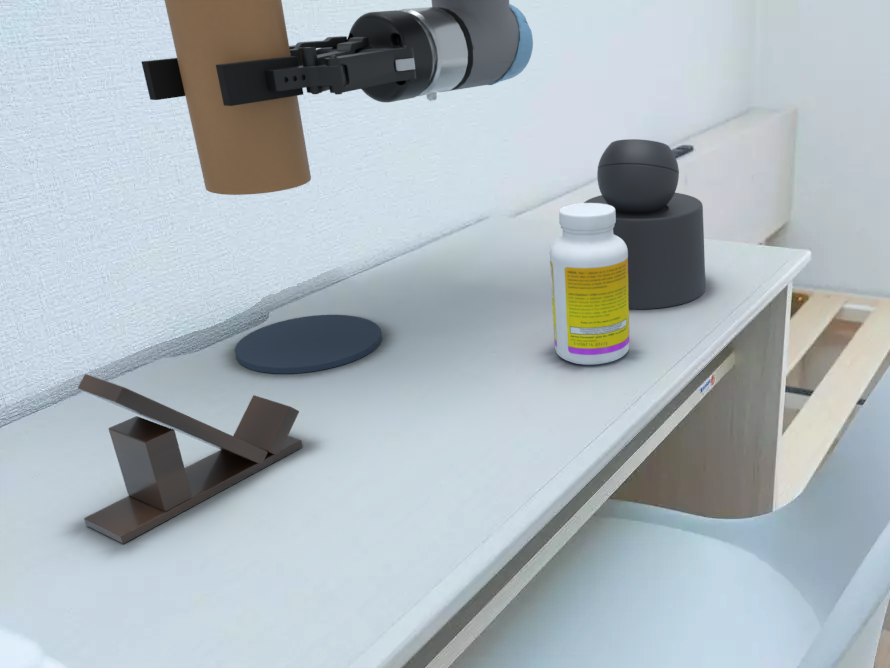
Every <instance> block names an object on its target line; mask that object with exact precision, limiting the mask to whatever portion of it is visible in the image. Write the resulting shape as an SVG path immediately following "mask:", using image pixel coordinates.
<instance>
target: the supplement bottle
mask: <svg viewBox="0 0 890 668" xmlns="http://www.w3.org/2000/svg"><path fill="white" fill-rule="evenodd" d="M558 212H559V214H558V224H559V225H560V229H561V230H562V235H561V236H559V237H558V238H556V239H555V240H554V241H553V243H552V244H551V246H550V248H549V266H550V267H549V268H550V285H551V301H552V303H551V304H552V320H553V322H552V323H553V337H554V338H553V339H554V340H553V341H554V349H555V352H556V354H557V355H558V356H559V357H560V358H561V359H563V360H565V361H566V362H569V363H572V364H576V365H577V364H578V365H585V366H586V365H587V366H592V365H593V366H595V365H603V364H608V363H613V362H616V361H617V360H619V359H621V358H623V357H625V355H627V353H628V351H629V349H630V309H629V294H628V249H627V246H626V244H625V242H624V241H623V240H622V239H621V238H620V237H618V236H616V235H614V234H613V227H614V226H615V225H614V224H615V222H616V212H615V208H614V207H613V206H611V205H607V204H601V203H584V202H580V203H572V204H567V205H565V206H562V207H561V208H560V209H559V211H558Z"/></svg>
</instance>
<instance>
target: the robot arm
mask: <svg viewBox="0 0 890 668" xmlns="http://www.w3.org/2000/svg"><path fill="white" fill-rule="evenodd" d="M533 48H534V39H533V32H532V29H531V27H530V26H529V23H528V21H527V18H526V16H525V15H524V14H523V12H522V11H521V10H520V9H519V8H518V7H516V6H515V5H513V4H511V3H510V0H431V6H429V7H427V6H426V7H411V8H402V9H399V10H398V9H397V10H383V11H382V10H381V11H370V12H367V13H364V14H362V15H360V16H359V17H358V18H357V19H356V20H355V21H354V22H353V24H352V26H351V27H350V29H349V33H348V36H347V35H339V36H328V37H326V38H324V39H323V40H313V41H312V40H311V41H298V42H297V43H296V44H294V45H293V44H292V45H289V49H290V55H291V56H288V57H279V58H271V59H262V60H253V61H244V62H236V63H227V64H218V65H216V69H217V74H218V79H219V84H220V89H221V94H222V99H223V104H224V106H234V105H241V104H247V103H253V102H260V101H266V100H272V99H279V98H285V97H291V96H297V97H298V96H302V95H303V96H304V88H305V89H306V93H307V94H312V95H320V94H322V93H323V92H326V91H329V93H330V94H334V95H343V93H348V92H351V91H357V90H361V91H362V92H363V93H364V94H365V95H366V96H368V97H369V98H370V99H372V100H374V101H376V102H378V103H379V102H380V103H394V102H399V101H403V100H409V99H415V98H417V97H422V96H426V99H427V100H428V101H430V102H431V101H436V100H437V98H438V95H437V93H445V92H446V93H447V92H452V91H458V90H463V89H464V90H465V89H471V88H476V87H482V86H493V85H496V84H498V83H501V82H503V81H507V80H510V79H513V78H515V77H516V76H518V75H519V74H521V73H522V72H523V71H524V70H525V69H526V67H527V66H528V65H529V63H530V60H531V57H532V55H533V54H532V53H533ZM141 66H142V70H143V71H142V72H143V74H144V79H145V84H146V88H147V93H148V96H149V100H151V101H160V100H161V101H162V100H167V99H174V98H181V97H186V96H185V92H184V87H183V83H182V78H181V73H180V69H179V64H178V60H177V57H171V58H162V59H161V58H160V59H151V60H142V61H141Z"/></svg>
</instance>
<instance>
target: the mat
mask: <svg viewBox="0 0 890 668" xmlns="http://www.w3.org/2000/svg"><path fill="white" fill-rule="evenodd" d="M382 338H383V335H382V330H381V327H380V326H379V325H378V324H377V323H376V322H374V321H372V320H369V319H368V318H364V317H361V316H355V315H346V314H319V315H317V314H316V315H308V316H300V317H294V318H290V319H285V320H281V321H278V322H274V323H271V324H268V325H265V326H262V327H259V328H257V329H256V330H254V331H251V332H250V333H247V334H246V335H245V336H244V337H242V338H241V339H240V340H239V341H238V342H236V345H235V348H234V354H235V359H236V361H237V362H238V364H240V365H241V366H242V367H244V368H246V369H249V370H252V371H256V372H260V373H267V374H285V375H286V374H303V373H304V374H305V373H312V372H318V371H319V372H320V371H323V370H329V369H334V368H336V367H340V366H344V365H347V364H349V363H352V362H355V361H357V360H360V359H362V358H364V357H366V356H367V355H369V354H370V353H372V352H373V351H375V350H376V349H377V348H378V347H379V345H380V344H381V342H382V340H383V339H382Z"/></svg>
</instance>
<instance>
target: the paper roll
mask: <svg viewBox="0 0 890 668" xmlns="http://www.w3.org/2000/svg"><path fill="white" fill-rule="evenodd" d="M164 5H165V9H166V14H167V17H168V23H169V27H170V31H171V37H172V41H173V45H174V50H175V54H176V58H177V60H178V64H179V69H180V73H181V78H182V83H183V87H184V92H185V96H184V97H185V101H186V106H187V109H188V114H189V119H190V123H191V129H192V132H193V137H194V142H195V146H196V151H197V155H198V159H199V165H200V169H201V174H202V178H203V183H204V187H205V190H206V191H207V192H209V193H212V194H216V195H217V194H218V195H225V196H226V195H227V196H228V195H229V196H247V195H259V194H269V193H276V192H280V191H281V192H282V191H286V190H292V189H295V188H298V187H302V186H303V185H306V184H308V183H309V182H310V181H311V180H312V176H311V169H310V165H309V163H310V162H309V157H308V151H307V145H306V139H305V134H304V128H303V121H302V115H301V109H300V103H299V97H298V96H291V97H285V98H279V99H272V100H266V101H260V102H253V103H247V104H241V105H234V106H224V104H223V99H222V94H221V89H220V84H219V79H218V74H217V69H216V65H218V64H227V63H236V62H244V61H253V60H262V59H271V58H279V57H288V56H291V55H290V49H289V46H290V43H289V37H288V32H287V25H286V19H285V13H284V8H283V2H282V0H164Z"/></svg>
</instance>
